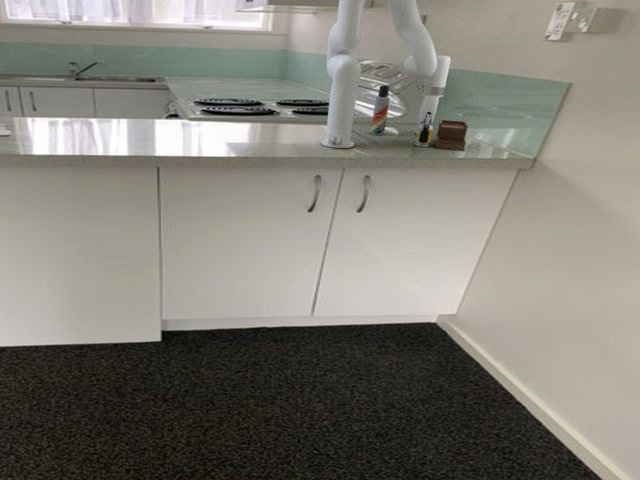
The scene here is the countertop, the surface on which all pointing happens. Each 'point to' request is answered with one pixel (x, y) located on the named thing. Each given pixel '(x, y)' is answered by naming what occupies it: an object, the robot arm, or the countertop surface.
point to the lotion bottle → (380, 111)
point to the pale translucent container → (418, 121)
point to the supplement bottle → (419, 136)
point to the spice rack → (451, 135)
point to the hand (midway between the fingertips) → (423, 140)
